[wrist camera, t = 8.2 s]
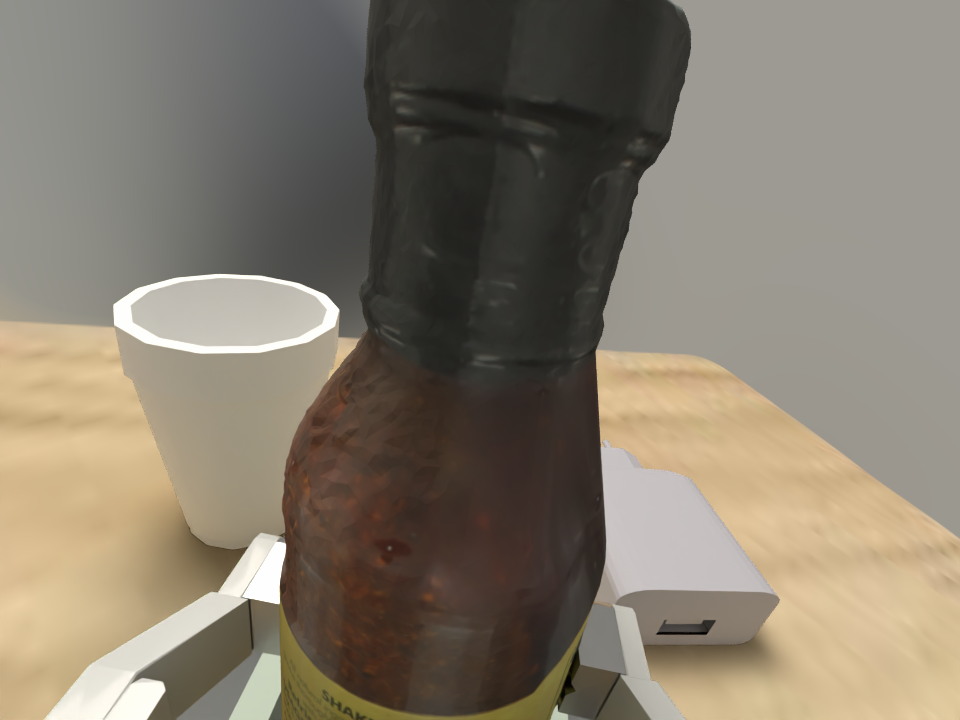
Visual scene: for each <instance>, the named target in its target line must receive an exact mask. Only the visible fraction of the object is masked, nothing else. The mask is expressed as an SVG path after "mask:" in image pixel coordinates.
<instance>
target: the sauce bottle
mask: <svg viewBox="0 0 960 720" xmlns="http://www.w3.org/2000/svg"><path fill="white" fill-rule="evenodd" d="M690 50H691V31H690V28H689V24H688V21H687V18H686V15H685V13H684V11H683V9H682V8H681V7H680V6H678V5H676V4H674V3H673V2H672V1H671V0H370V9H369V18H368V28H367V48H366V52H367V53H366V69H365V77H364V89H365V93H366V103H367V111H368V120H369V122H370V125H371V127H372V130H373V132H374V135H375V137H376V150H377V151H376V159H375V179H374V189H373V200H372V223H371V235H370V249H369V270H368V274H367V276H366V277H365V278H364V279H363V281H362V282H361V285H360V290H359V296H360V300H361V302H362V307H363V315H364V318H365V321H366V323H367V326H368V330H367V331H366V332H365V333H364V334H362V337H361V339H360V340H359V341H358V343H357V346H356V348H355V349H354V350H353V351H352V352H351V353H350V354H349V355H348V356H347V357H346V359H345V360H344V361H343V362H342V364H341V365H340V367H339V368H338V369H337V370H336V371H335V372H334V374H333V375H332V376H331V378H330V379H329V380H328V381H327V382H326V383H325V385H324V386H323V388H322V389H321V391H320V393H319V395H318V396H317V398H316V399H315V401H314V402H313V404H312V405H311V406H310V407H309V408H308V409H307V410H306V414H305V416H304V417H303V419H302V421H301V422H300V424H299V426H298V428H297V431H296V433H295V435H294V437H293V440H292V444H291V448H290V451H289V454H288V457H287V459H286V466H285V472H284V477H285V480H284V494H283V498H282V512H283V516H284V523H285V532H286V536H285V543H286V550H285V556H284V560H283V563H282V568H281V575H280V582H279V622H280V661H281V708H282V720H550V719H551V716H552V714H553V711H554V709H555V707H556V706H557V704H558V701H559V696H560V693H561V690H562V687H563V684H564V682H565V681H566V676H567V673H568V671H569V668H570V666H571V663H572V661H573V658H574V655H575V653H576V651H577V650H578V648H579V646H580V643H581V639H582V636H583V632H584V630H585V627H586V624H587V621H588V618H589V615H590V612H591V609H592V606H593V603H594V601H595V598H596V595H597V593H598V590H599V587H600V584H601V579H602V575H603V570H604V565H605V561H606V525H605V508H604V492H603V476H602V460H601V444H600V427H599V408H598V390H597V371H596V349H597V346H598V343H599V341H600V338H601V336H602V332H603V328H604V321H603V310H604V308H605V305H606V302H607V298H608V295H609V291H610V286H611V282H612V280H613V278H614V275H615V271H616V268H617V264H618V260H619V255H620V252H621V250H622V248H623V244H624V240H625V238H626V235H627V233H628V231H629V221H630V218H631V215H632V206H633V202H634V199H635V198H636V196H637V194H638V183H639V180H640V178H641V177H642V175H643V173H644V171H645V170H646V169H648V168H649V167H650V166H651V165H653V164H654V163H655V161H656V160H657V158H658V156H659V154H660V153H661V151H662V150H663V148H664V147H665V145H666V144H667V143H668V141H669V139H670V136H671V130H672V125H673V119H674V114H675V111H676V107H677V104H678V102H679V96H680V92H681V90H682V87H683V85H684V82H685V73H686V70H687V66H688V59H689V56H690Z"/></svg>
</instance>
